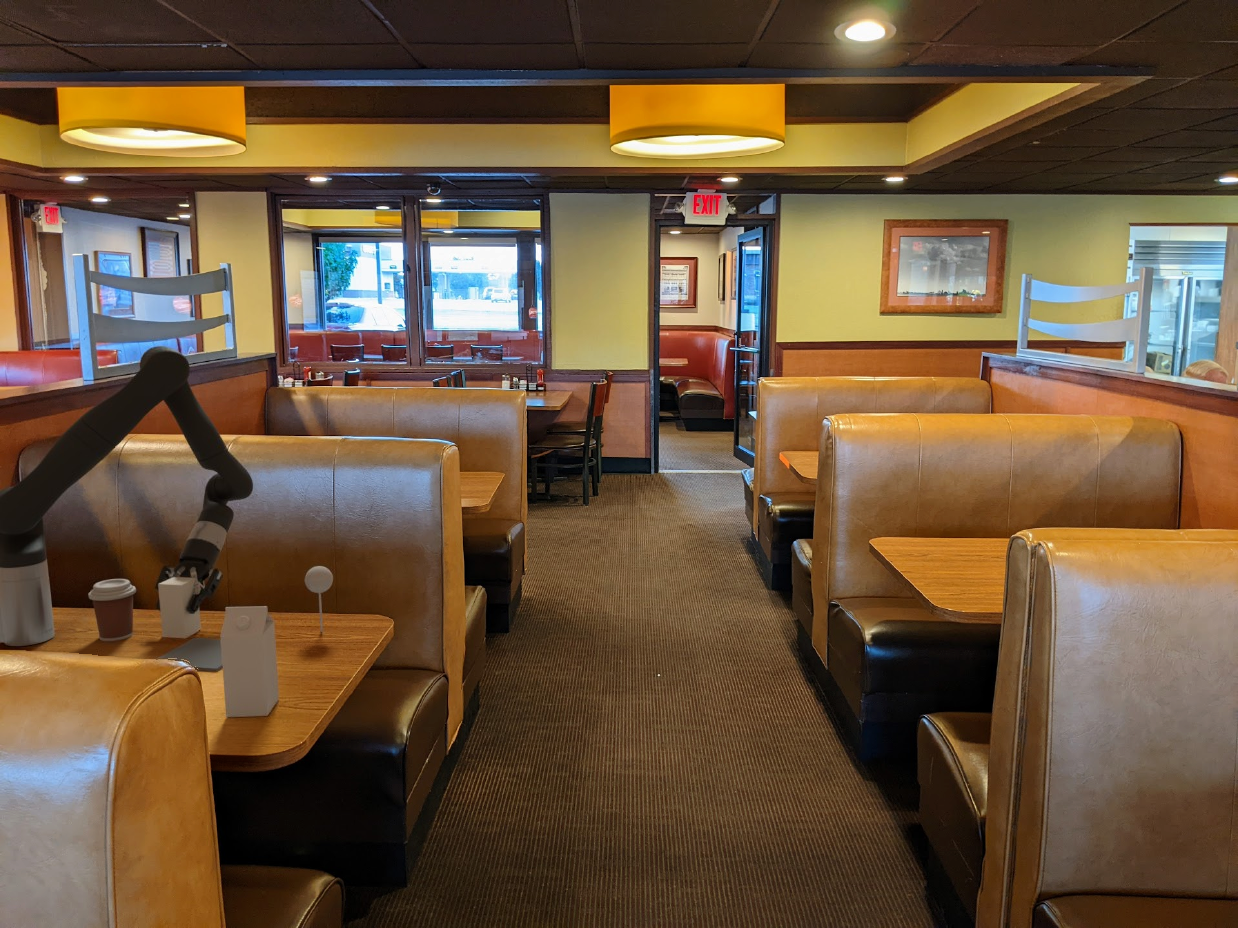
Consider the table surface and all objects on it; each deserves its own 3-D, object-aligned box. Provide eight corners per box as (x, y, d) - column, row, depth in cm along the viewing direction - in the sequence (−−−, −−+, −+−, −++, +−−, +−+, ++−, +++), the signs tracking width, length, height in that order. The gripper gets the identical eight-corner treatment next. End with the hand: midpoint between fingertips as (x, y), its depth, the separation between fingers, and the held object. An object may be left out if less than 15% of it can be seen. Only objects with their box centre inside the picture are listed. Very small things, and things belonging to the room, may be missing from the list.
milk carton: (239, 700, 166) (232, 601, 162) (279, 699, 166) (273, 600, 163) (226, 718, 159) (218, 614, 155) (267, 716, 159) (261, 612, 156)
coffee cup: (147, 628, 203) (143, 577, 201) (127, 643, 194) (122, 589, 192) (106, 628, 203) (101, 577, 201) (83, 643, 194) (78, 589, 192)
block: (162, 636, 198) (158, 583, 196) (178, 628, 204) (174, 576, 202) (185, 638, 197) (181, 585, 195) (200, 629, 203) (197, 577, 201)
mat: (148, 666, 181) (148, 663, 181) (194, 640, 196) (194, 637, 196) (217, 671, 179) (216, 668, 179) (258, 644, 194) (258, 641, 194)
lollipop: (326, 637, 198) (323, 571, 195) (302, 635, 199) (298, 569, 197) (340, 628, 204) (337, 563, 201) (317, 626, 205) (313, 561, 202)
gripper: (167, 535, 206) (136, 601, 196) (225, 538, 203) (196, 605, 194) (183, 552, 212) (154, 617, 202) (240, 555, 209) (213, 620, 200)
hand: (175, 611), depth 198 cm, fingers open, 6 cm apart
